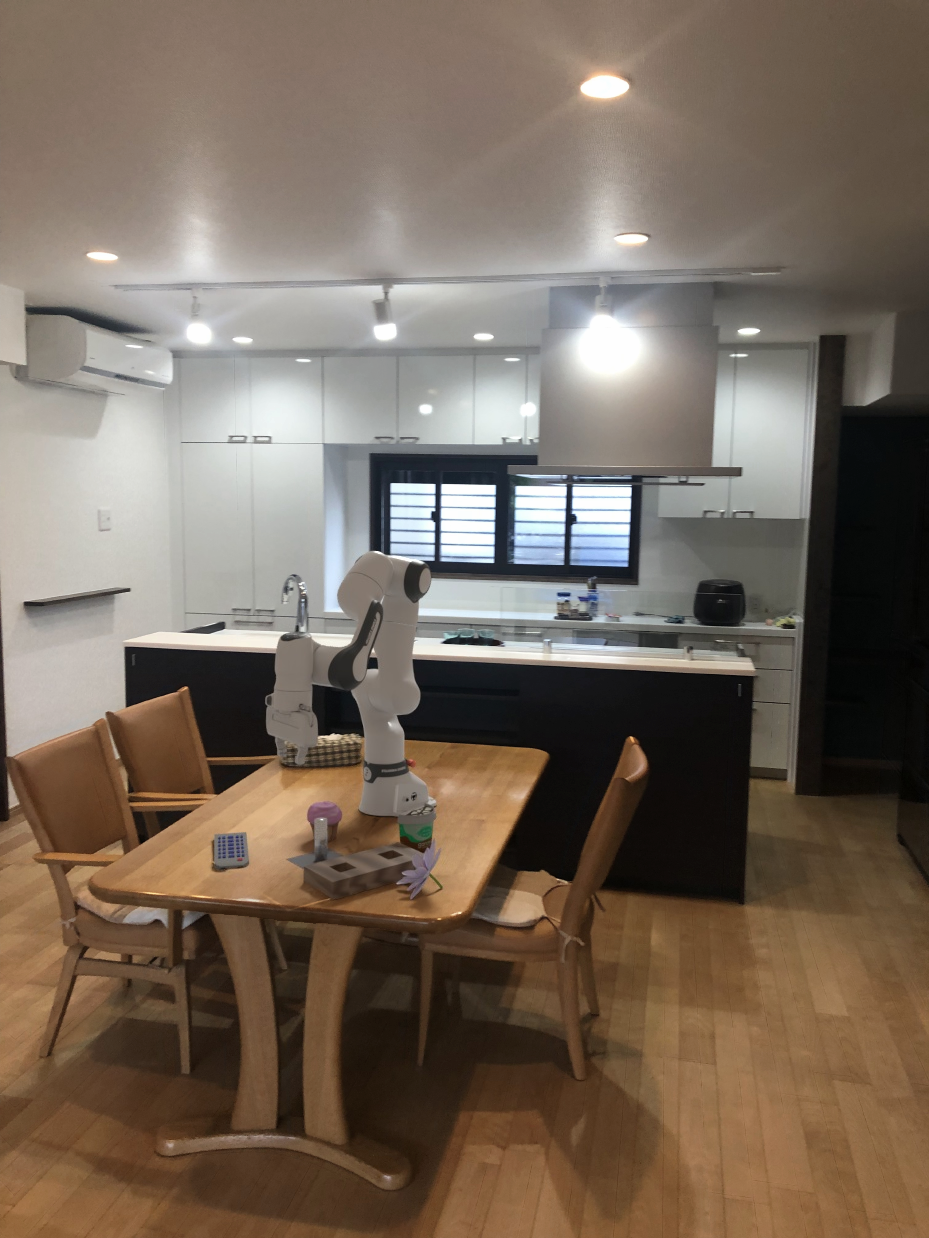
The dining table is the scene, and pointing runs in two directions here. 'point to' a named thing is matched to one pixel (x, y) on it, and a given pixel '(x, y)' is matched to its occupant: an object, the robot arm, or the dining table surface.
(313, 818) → the cupcake
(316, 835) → the peg
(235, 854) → the remote control
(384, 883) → the hole block
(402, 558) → the robot arm
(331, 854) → the mat
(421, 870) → the water lily
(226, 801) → the dining table surface
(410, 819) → the food container
